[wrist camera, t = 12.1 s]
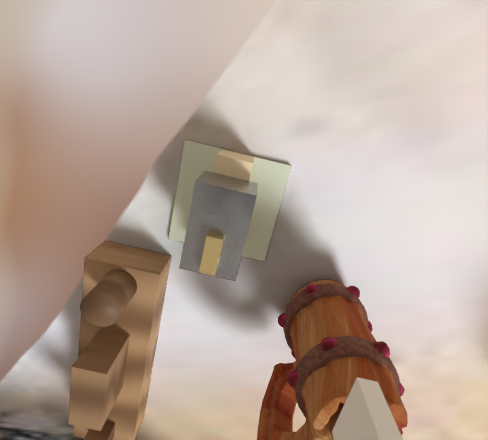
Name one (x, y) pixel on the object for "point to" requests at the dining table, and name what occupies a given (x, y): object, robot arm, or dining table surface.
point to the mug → (325, 364)
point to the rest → (237, 166)
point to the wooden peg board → (116, 340)
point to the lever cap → (218, 224)
